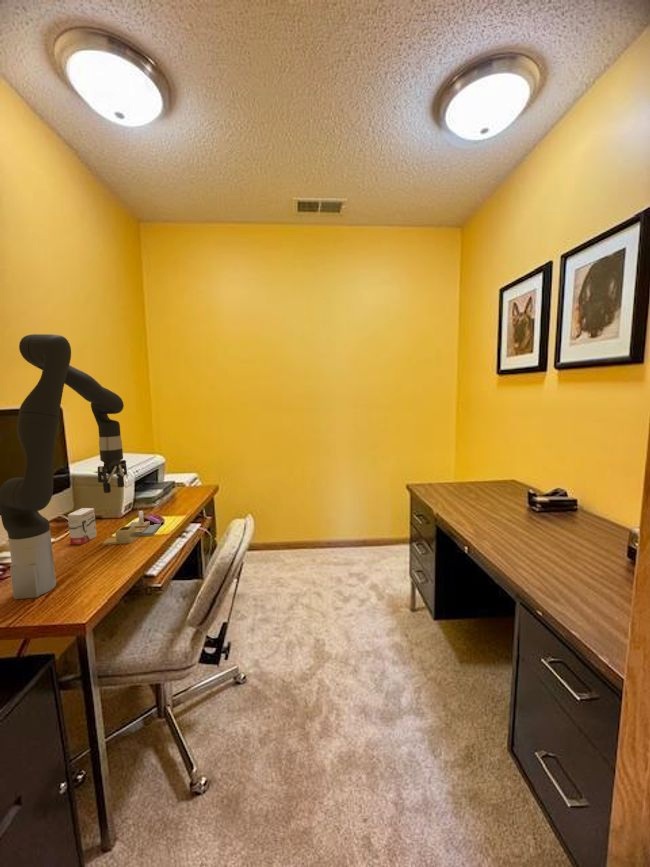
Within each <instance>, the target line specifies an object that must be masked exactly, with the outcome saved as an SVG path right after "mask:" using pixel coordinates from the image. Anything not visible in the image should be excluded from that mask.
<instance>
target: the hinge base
mask: <svg viewBox="0 0 650 867" xmlns="http://www.w3.org/2000/svg"><path fill="white" fill-rule="evenodd" d="M144 521H145V519H144V510H138V521H132V522H130V523H129V524H128V525H127V526H135V535H136V537H149V536H154V535H155V534H156V533H157V532H158V530H159V529H160V528H161V527H162V525H161V523H162V522H164V521H165V520H162V522H161V523H160V524H154V525H150V521H151V520H148V521H147V520H146V521H145V522H144Z"/></svg>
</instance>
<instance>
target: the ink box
mask: <svg viewBox="0 0 650 867" xmlns="http://www.w3.org/2000/svg"><path fill="white" fill-rule="evenodd" d="M67 521H68V530H69V540H70V545H71V546H72V545H74V546H75V545H84V544H85V543H87V542H89V541H91V540H92V539H94V538H96V537H97V536H98V535H97V527H96V526H97V525H96V515H95V508H92V507H91V508H90V507H82V508H79V509H77V510H75V511H73V512H70V513H68V515H67Z"/></svg>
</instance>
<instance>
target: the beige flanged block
mask: <svg viewBox="0 0 650 867" xmlns="http://www.w3.org/2000/svg"><path fill="white" fill-rule="evenodd" d="M136 538H137V536H136V535H135V526H128V525H127V526H126V525H125V526H124V525H123V526H120V527H119V528H118V529H117V530H115V537H108V538H106V539H105V540H104V541H103V542H102V546H112V545H122V544H123V545H124V544H132V543H133V541H134V540H135V539H136Z"/></svg>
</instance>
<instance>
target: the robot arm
mask: <svg viewBox="0 0 650 867" xmlns="http://www.w3.org/2000/svg"><path fill="white" fill-rule="evenodd" d="M18 347H19V348H18V349H19V352H20V354H21V356H22V358H23V359H24V361H26V362H28V363H29V364H31V365H32V366H34V367H35V368H37V369H39V370H41V371H42V372H41V375H40V378H39V380H38V382H37V383H36V385H35V386H34V387H33V389H32V390H31V391H30V392H29V393H28V395H27V396H26V398H25V399H24V400H23V401H22V403H21V405H20V407H19V410H18V417H17V423H16V433H17V437H18V440H19V442H20V446H21V447H22V450H23V453H24V456H25V468H24V475H23V477H20V476H19V477H12V478H9V479H7V480H6V481H4V483H3V484H2V485H1V487H0V518H1V519H0V520H1V523H2V526H3V528H4V530H5V531H6V532H7V533H6V534H7V538H8V545H9V554H10V562H11V566H10V568H9V571H10V576H11V577H10V579H11V585H12V588H11V589H12V595H13V600H22V599H32V598H33V599H35V598H39V597H40V596H42V595H44V594H47V593H49V592H50V591H52V590H53V589H54V588H56V586H57V579H56V571H55V569H56V568H55V561H54V556H53V555H54V553H53V546H52V544H53V543H52V534H51V528H50V527H51V526H50V521H49V520H48V518H46V517H45V516H43V515H42V514H41V513H40V512H39V511H42V510H45V508H46V507H47V506H48V505H49V504H50V502H51V500H52V498H53V492H54V466H55V465H54V462H55V461H54V460H55V451H56V441H57V436H58V435H57V434H58V429H59V422H60V416H61V415H60V414H61V407H62V406H61V404H62V398H63V393H64V387H65V385H66V386H68V387H69V388H70V389H72V390H73V391H74V392H76V393H77V394H78V395H79V396H81V397H82V399H84V400H85V401H87V402H89V403H90V408H91V411H92V414H93V416H94V418H95V419H94V420H95V422H96V424H97V427H98V439H99V440H98V447H99V460H100V462H103V465H98V466H97V482H98V483H101V484H102V487H103V493H104V494H110V493H111V492H112V490H111V488H112V487H111V480H112V479H113V478H114V475H116V477H117V478H116V482H117V484H116V485H117V488H124V487H125V476H126V475H128V469H127V468H128V467H127V461H126V460H125V459H124V451H123V441H122V436H121V434H122V433H121V424H120V422H119V420H115V419H112V418H110V417H109V415H116V414H120V413H122V411H123V409H124V401H123V399H122V398H121V397H120V396H119V395H118V394H117V393H115V392H114V391H111V390H110V389H108V388H106V387H104V386H102V385H101V384H100V383H99V382H98V381H97V380H96V379H95V378H93V377H92V376H91V375H90V374H88V373H86V372H85V371H82V370H80V369H78V368H76V367H74V366H72V365H70V363H71V359H72V358H71V357H72V347H71V344H70V342H69V340H68V339H67V338H66V337H65V336H63V335H59V334H52V333H51V334H50V333H49V334H45V333H43V334H41V333H40V334H39V333H38V334H37V333H36V334H28V335H25V336H23V337H22V338H21V339H20V342H19V345H18Z"/></svg>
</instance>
